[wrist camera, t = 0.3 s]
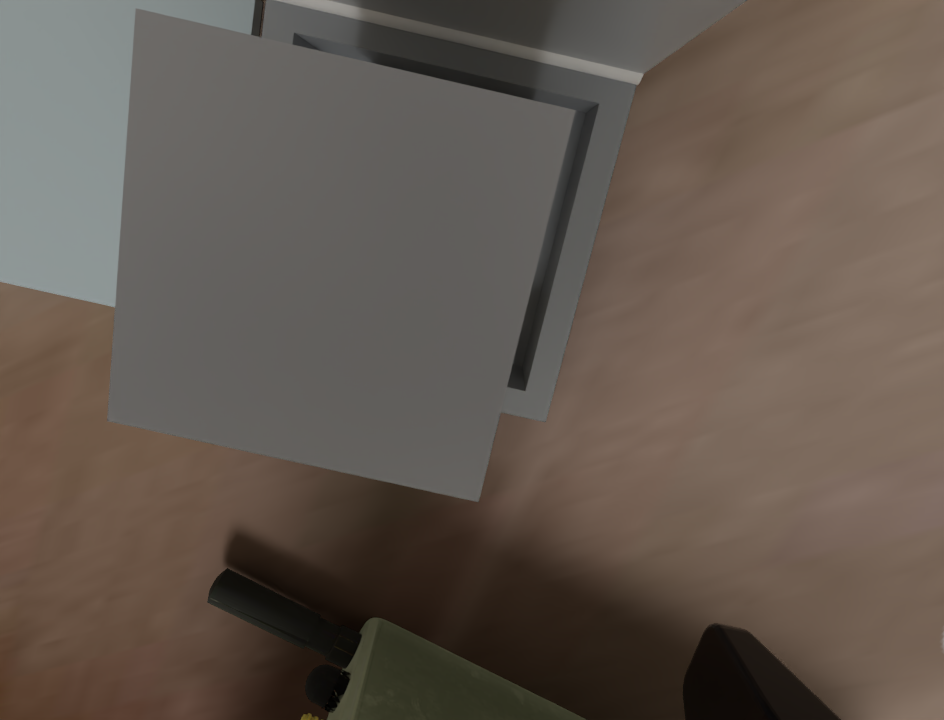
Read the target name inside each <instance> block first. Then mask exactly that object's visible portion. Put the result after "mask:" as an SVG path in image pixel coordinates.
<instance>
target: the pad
mask: <svg viewBox="0 0 944 720" xmlns="http://www.w3.org/2000/svg"><path fill="white" fill-rule="evenodd" d="M262 5H263V2H262V1H261V0H0V282H4V283H9V284H13V285H18V286H22V287H27V288H31V289H36V290H40V291H45V292H49V293H54V294H58V295H63V296H67V297H72V298H76V299H81V300H85V301H90V302H94V303H99V304H103V305H108V306H112V307H115V301H116V287H117V272H118V258H119V243H120V229H121V214H122V199H123V185H124V170H125V156H126V141H127V127H128V112H129V98H130V83H131V69H132V54H133V39H134V25H135V10H136V8H137V9H141V10H146V11H150V12H154V13H159V14H163V15H167V16H172V17H176V18H180V19H185V20H189V21H193V22H197V23H202V24H206V25H210V26H215V27H219V28H223V29H228V30H232V31H236V32H241V33H245V34H249V35H254V36H258V37H259V31H260V22H261V14H262Z"/></svg>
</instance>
